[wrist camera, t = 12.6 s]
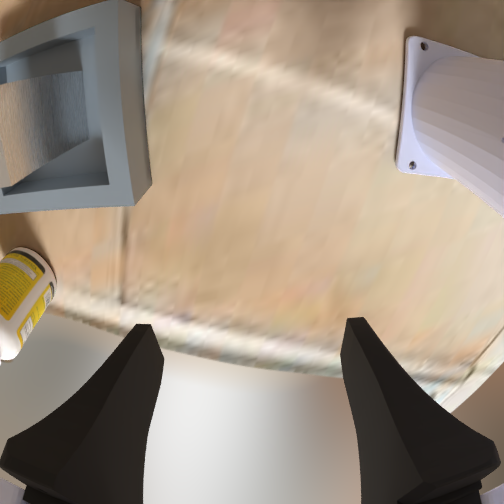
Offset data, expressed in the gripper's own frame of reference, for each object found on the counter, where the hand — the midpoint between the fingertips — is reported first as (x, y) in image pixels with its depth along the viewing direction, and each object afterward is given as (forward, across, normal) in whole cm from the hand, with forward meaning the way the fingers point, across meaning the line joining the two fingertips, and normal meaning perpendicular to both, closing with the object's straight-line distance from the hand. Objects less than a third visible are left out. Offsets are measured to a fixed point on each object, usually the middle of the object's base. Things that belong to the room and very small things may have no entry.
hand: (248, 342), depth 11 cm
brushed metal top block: (+8, +10, -9) cm, 16 cm away
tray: (+9, +10, -9) cm, 16 cm away
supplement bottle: (+9, +18, +3) cm, 21 cm away
